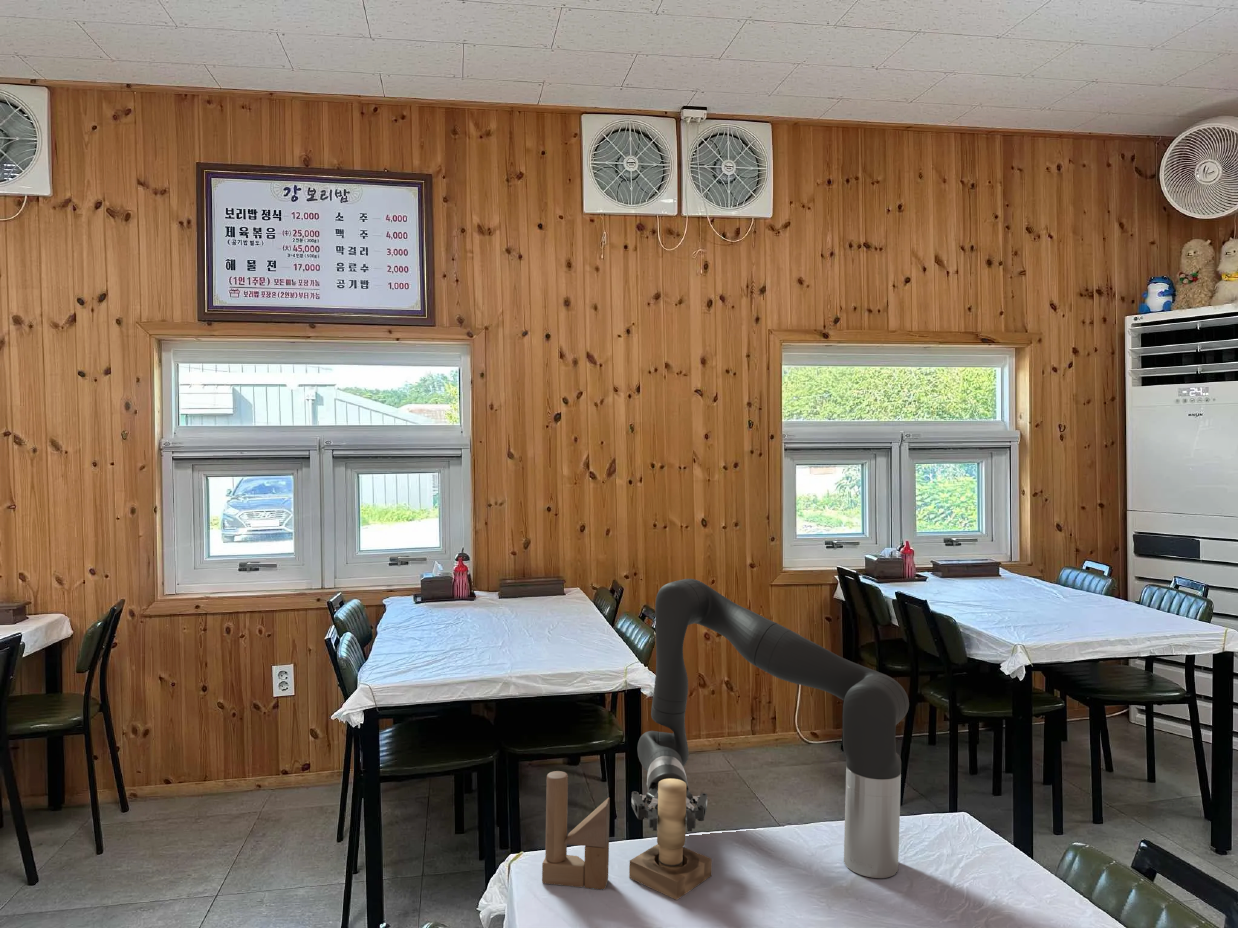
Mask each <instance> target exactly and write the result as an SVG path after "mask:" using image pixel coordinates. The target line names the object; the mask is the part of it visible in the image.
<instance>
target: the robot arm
mask: <svg viewBox="0 0 1238 928" xmlns="http://www.w3.org/2000/svg"><path fill="white" fill-rule="evenodd" d="M654 609H655V610H654V611H655V612H654V617H655V651H656V652H655V661H656V662H655V663H656V664H655V677H654V678H655V680H654V686H653V695H652V701H651V702H652V703H651V708H650V709H651V712H650V717H651V719H652V721H653V722H655V723H656V724H657V725H660V726H663V727H666V728H668V729H670V730H671V731H672V733H671V732H665V731H655V730H649V731H645V732H644V733H643V734H641V735H640V737H639V740H638V742H637V757H638V759H639V762H640V764H641V766H642V767H643V769H644V770H645V771H646V772H647V775H646V788H647V792H646V793H645V794H644V795H643V794H639V792H638V791H634V790H633V791H632V792H631V808H632V811H633V812H634V814H635V816H636V818H637V820H638V821H639V820H641V821H643V820H644V819H647V824H648V827H649V829H650V828H651V829H652V831H655V832H657V822H658V783H659V781H661V780H663V779H679V780H682V781H684V782H685V783H686V785H687V786H686V830H687V832H693V829H696V828H697V827H696V826H697V825H696V822H697V821H699V822H703V821H705V818H706V814H707V810H708V793H706V792H701V793H700V795H697V796H696V795H693V793H692V792H691V791H690V789H689V783H688V778H687V773H686V771H685V767H684V766H685V765H686V764H687V762H688V760H689V753H690V752H689V746H688V745H689V744H688V740H687V739H688V738H687V735H686V734H687V733H686V722H685V721H686V720H685V719H686V718H685V717H686V709H687V702H688V693H689V679H688V678H689V677H688V673H687V669H686V664H685V661H684V643H685V642H684V641H685V638H686V637H685V636H686V633H687V630H688V627H689V626H690V625H694V624H696V625H700V626H703V627H704V628H707V629H710V630H712V631H713V632H716V633H717V634H719V635H721V636H723V637H724V638H725V639H726V640H727V641H728V642H729V643H730V644H731V645H732V646H733V648H734V649H735V650H736V651H737V652H738V653H739V655H740V656H742V657H743V659H745V660H746V661H747V662H748V663H750V664H751V665H753V666H754V667H756V668H758V669H760V670H761V671H763V672H765V673H767V674H769V675H771V676H773V677H774V678H777V679H780V680H783V681H786V682H789V683H792V684H796V685H800V686H804V687H808V688H813V689H818V690H821V691H823V692H826V693H828V694H831V695H833V696H835V697H837V699H840V700H842V701H843V704H842V746H843V747H842V749H843V753H844V755H845V757H846V758H845V760H846V762H845V763H846V764H845V765H846V768H845V769H846V770H845V799H844V801H845V803H844V805H845V808H844V835H843V836H844V840H843V842H844V843H843V847H844V848H843V863H844V865H845V866H846V867H847V868H848V869H849V870H850V871H851V872H854V873H856V874H858V875H860V876H863V877H868V878H873V879H874V878H875V879H885V878H886V879H887V878H890V877H893V876H895V875H896V874H897V873H898V871H899V854H900V853H899V850H900V819H901V817H900V816H901V784H902V783H901V780H902V779H901V778H902V774H901V773H902V759H901V756H900V755H899V753H898V752H897V751H896V750H897V748H896V747H897V746H896V743H897V742H896V731H897V730H896V729H897V725H898V724H899V723H900V722H901V721H902V720H903V719H904V718H905V716H906V715H907V713H908V711H909V707H910V702H909V701H910V700H909V697H908V694H907V692H906V691H905V689H904V687H903V686H902V684H900V683H899V682H898V681H897V680H896V679H894V678H892V677H891V676H889V675H887V674H885V673H882V672H879V671H877V670H874V669H871V668H869V667H866V666H863V665H861V664H859V663H857V662H853V661H851V660H848V659H846V658H844V657H842V656H840V655H837V654H836V653H834V652H832V651H831V650H829V649H826V648H825V647H823V646H822V645H819V644H817V643H816V642H814V641H812V640H810V639H808V638H805V637H804V636H803V635H800V634H799V633H797V632H795V631H793V630H791V629H789V628H787V627H785V626H784V625H781V624H779V623H778V622H775V621H773V620H772V619H771V620H770V619H769V618H766V617H764V616H762V615H761V614H758V613H756V612H754V611H753V610H750V609H748V608H746V607H743V606H741V605H740V604H737V603H735V602H733V601H732V600H731V599H729V598H727V597H726V596H724V595H723V594H721V593H719V592H718V591H716V590H715V589H714V588H712V587H710V586H709V585H707V584H706V583H704V582H702V581H700V580H698V579H694V578H684V579H679V580H675V581H671V582H668V583H666V584H664V585H663V586H661V587H660V589H659V590H658V591H657V594H656V597H655V606H654ZM645 804H646V805H647V806H646V805H645ZM693 804H694V805H695V806H694V805H693ZM696 820H697V821H696ZM896 872H897V873H896ZM895 873H896V874H895Z"/></svg>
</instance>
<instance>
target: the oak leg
mask: <svg viewBox="0 0 1238 928" xmlns="http://www.w3.org/2000/svg"><path fill="white" fill-rule="evenodd" d="M686 786H687V785H686V783H685V782H684V781H682V780H679V779H663V780H661V781H659V783H658V818H657V831H656V844H658V845H659V865H660V866H662V867H665V868H679V867H682V863H683V847H685V845H686V832H687V831H686V830H687V824H686Z"/></svg>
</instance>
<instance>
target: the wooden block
mask: <svg viewBox="0 0 1238 928" xmlns="http://www.w3.org/2000/svg"><path fill="white" fill-rule="evenodd" d="M568 782H569V775H568V773H567V772H565V771H560V770H556V771H555V770H554V771H550V772H549V773H547V775H546V788H545V789H546V791H545V792H546V793H545V794H546V797H545V798H546V800H545V802H546V803H545V854H544V855H545V858H544V859H543V862H542V866H541V868H542V869H541V870H542V871H541V882H542V884H546V885H557V886H565V887H566V886H567V887H575V888H585V889H591V888H594V889H593V890H601V889H604V890H605V889H606V887H607V884H608V881H609V866H610V865H609V862H610V861H609V856H610V855H609V854H610V851H609V850H610V803H611V800H610V799H611V798H610V797H608V798H606V799H605V800H604V801H603V802H602V803H601V804H599V805H598V806H597V807H596V808H595V809H593V811H592V812H591V813H589V814H588V816H586V817H585V818H584V819H583V820H582V821H581V822H579V823H578V824H577V825H576V826H575V827H574V828H572V830H570V832H568V799H569V798H568V796H569V795H568V794H569V793H568V792H569V791H568V790H569V789H568V788H569V783H568ZM568 845H574V846H583V847H584V860H583V859H582V858H580V856H579V855H578V856H577V855H570V854H567V853H568V850H567V849H568V848H567V847H568Z"/></svg>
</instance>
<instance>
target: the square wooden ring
mask: <svg viewBox="0 0 1238 928" xmlns="http://www.w3.org/2000/svg"><path fill="white" fill-rule="evenodd" d="M712 861H713V859H712V858H711V857H709V856H707V855H704V854H701V853H699V852H697V851H694V850H692V849H690V848H687V847H685V846H683V863H682V867H679V868H665V867H662V866H660V865H659V845H658V843H656V844H655V845H654V846H652V847H650V848H648V849H647V850H645V851H643V852H642V853H640V854H638V855H636V856H634V857H633V858H632V859H630V860H629V869H628V870H629V872H628V874H629V875H628V878H629V879H630V880H633V881H636V882H637V883H639V884H642V885H644V886H645V887H647V888H650V889H651V890H654V891H657V892H658V893H661V894H663V895H665V896H666V897H669V898H671V899H673V900H675V901H678V900H679V899H681V897H683V896H685V895H686V894H687V893H689V892H690V891H692V890H693V889H695V888H696V887H698V886H699V885H701V884H702V883H703V882H705V881H707V880H708V879H709V878H710V877H712V864H713V863H712Z"/></svg>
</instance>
